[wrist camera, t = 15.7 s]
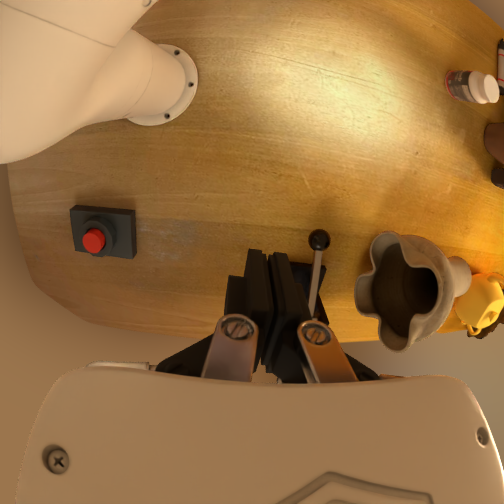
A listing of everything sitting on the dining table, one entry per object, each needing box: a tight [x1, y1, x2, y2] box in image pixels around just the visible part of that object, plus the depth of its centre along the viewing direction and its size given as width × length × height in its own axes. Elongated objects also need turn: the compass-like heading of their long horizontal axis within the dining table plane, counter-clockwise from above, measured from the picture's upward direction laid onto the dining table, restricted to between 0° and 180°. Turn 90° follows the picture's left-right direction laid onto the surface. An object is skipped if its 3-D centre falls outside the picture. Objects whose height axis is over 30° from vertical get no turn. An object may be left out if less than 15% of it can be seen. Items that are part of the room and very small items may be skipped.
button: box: [83, 228, 105, 253], centre depth 38 cm, size 4×4×2 cm
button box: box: [70, 205, 137, 259], centre depth 40 cm, size 12×8×4 cm, turn 81°
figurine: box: [467, 289, 504, 339], centre depth 54 cm, size 13×25×20 cm
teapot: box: [454, 272, 504, 335], centre depth 46 cm, size 14×20×13 cm
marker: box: [497, 38, 504, 96], centre depth 24 cm, size 15×2×2 cm, turn 170°
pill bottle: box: [445, 71, 499, 104], centre depth 25 cm, size 6×6×10 cm
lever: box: [307, 229, 331, 321], centre depth 40 cm, size 16×3×3 cm, turn 171°
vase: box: [354, 231, 472, 353], centre depth 41 cm, size 22×22×28 cm
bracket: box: [289, 261, 329, 326], centre depth 44 cm, size 10×8×12 cm
